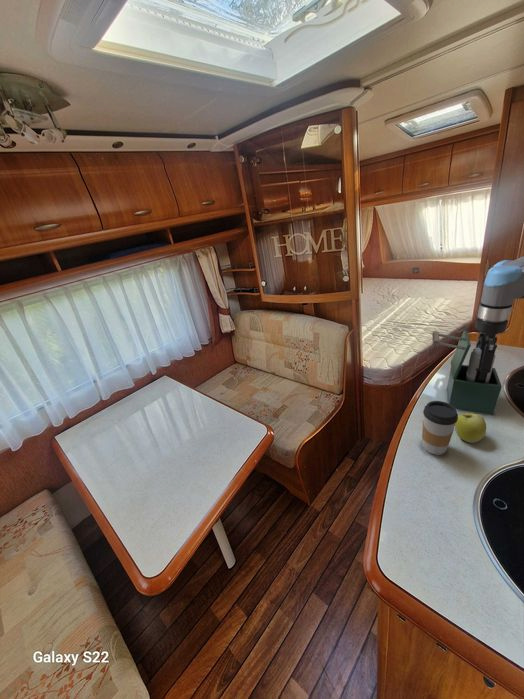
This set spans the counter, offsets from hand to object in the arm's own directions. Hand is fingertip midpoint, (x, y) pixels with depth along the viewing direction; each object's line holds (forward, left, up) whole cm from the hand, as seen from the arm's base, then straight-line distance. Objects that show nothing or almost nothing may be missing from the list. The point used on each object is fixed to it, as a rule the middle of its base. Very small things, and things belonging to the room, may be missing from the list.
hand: (477, 380), depth 94 cm
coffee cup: (+12, +27, -10) cm, 31 cm away
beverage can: (0, 0, -1) cm, 1 cm away
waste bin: (+1, 0, -9) cm, 9 cm away
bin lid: (+6, 0, +9) cm, 11 cm away
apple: (+3, +19, -10) cm, 21 cm away
